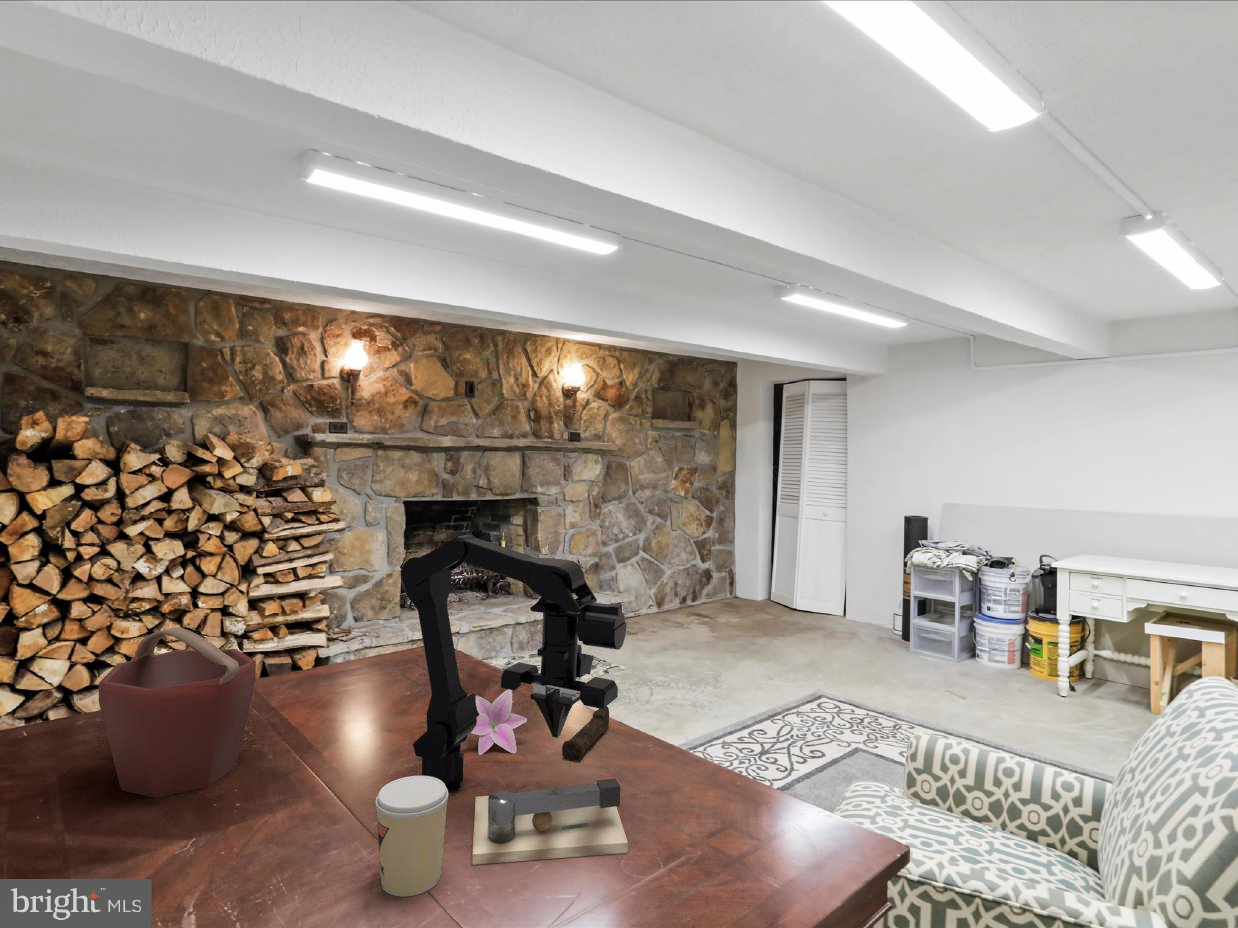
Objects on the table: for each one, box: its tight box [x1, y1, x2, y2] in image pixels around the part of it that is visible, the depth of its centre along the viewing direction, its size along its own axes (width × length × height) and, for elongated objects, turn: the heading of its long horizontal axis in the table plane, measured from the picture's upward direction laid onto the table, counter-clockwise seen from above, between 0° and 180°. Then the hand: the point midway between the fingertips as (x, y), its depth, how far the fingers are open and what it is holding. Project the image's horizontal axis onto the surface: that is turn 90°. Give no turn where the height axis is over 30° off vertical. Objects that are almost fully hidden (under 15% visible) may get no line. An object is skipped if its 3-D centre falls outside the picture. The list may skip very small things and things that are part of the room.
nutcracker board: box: [471, 795, 629, 866], centre depth 108 cm, size 22×16×4 cm
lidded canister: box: [375, 775, 449, 898], centre depth 95 cm, size 9×9×12 cm
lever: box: [488, 777, 621, 843], centre depth 105 cm, size 20×4×6 cm, turn 106°
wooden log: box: [561, 705, 610, 762], centre depth 140 cm, size 19×4×5 cm, turn 157°
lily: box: [470, 689, 528, 756], centre depth 137 cm, size 12×12×10 cm
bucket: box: [98, 627, 257, 799], centre depth 122 cm, size 24×22×25 cm
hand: (556, 736), depth 114 cm, fingers closed
